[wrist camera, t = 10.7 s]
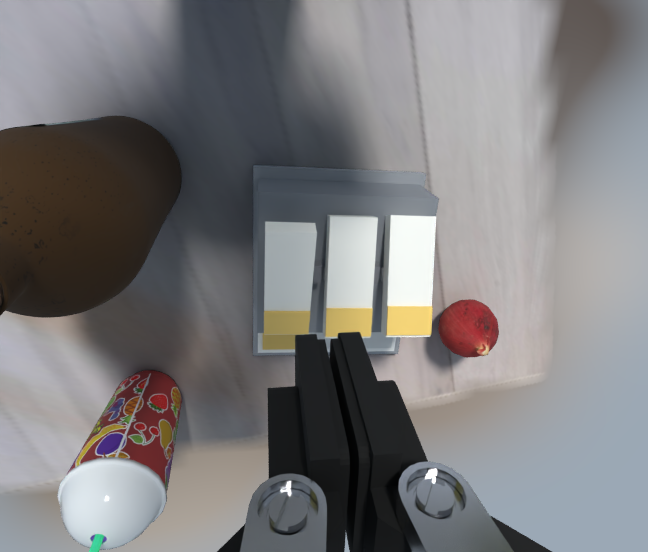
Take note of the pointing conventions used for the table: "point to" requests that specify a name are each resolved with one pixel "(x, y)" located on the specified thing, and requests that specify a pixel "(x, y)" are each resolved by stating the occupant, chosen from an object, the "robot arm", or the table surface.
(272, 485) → the robot arm
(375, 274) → the switch unit
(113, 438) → the smoothie
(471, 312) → the onion
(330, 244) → the rocker
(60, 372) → the table surface
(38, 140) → the olive oil
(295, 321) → the rocker
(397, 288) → the rocker
